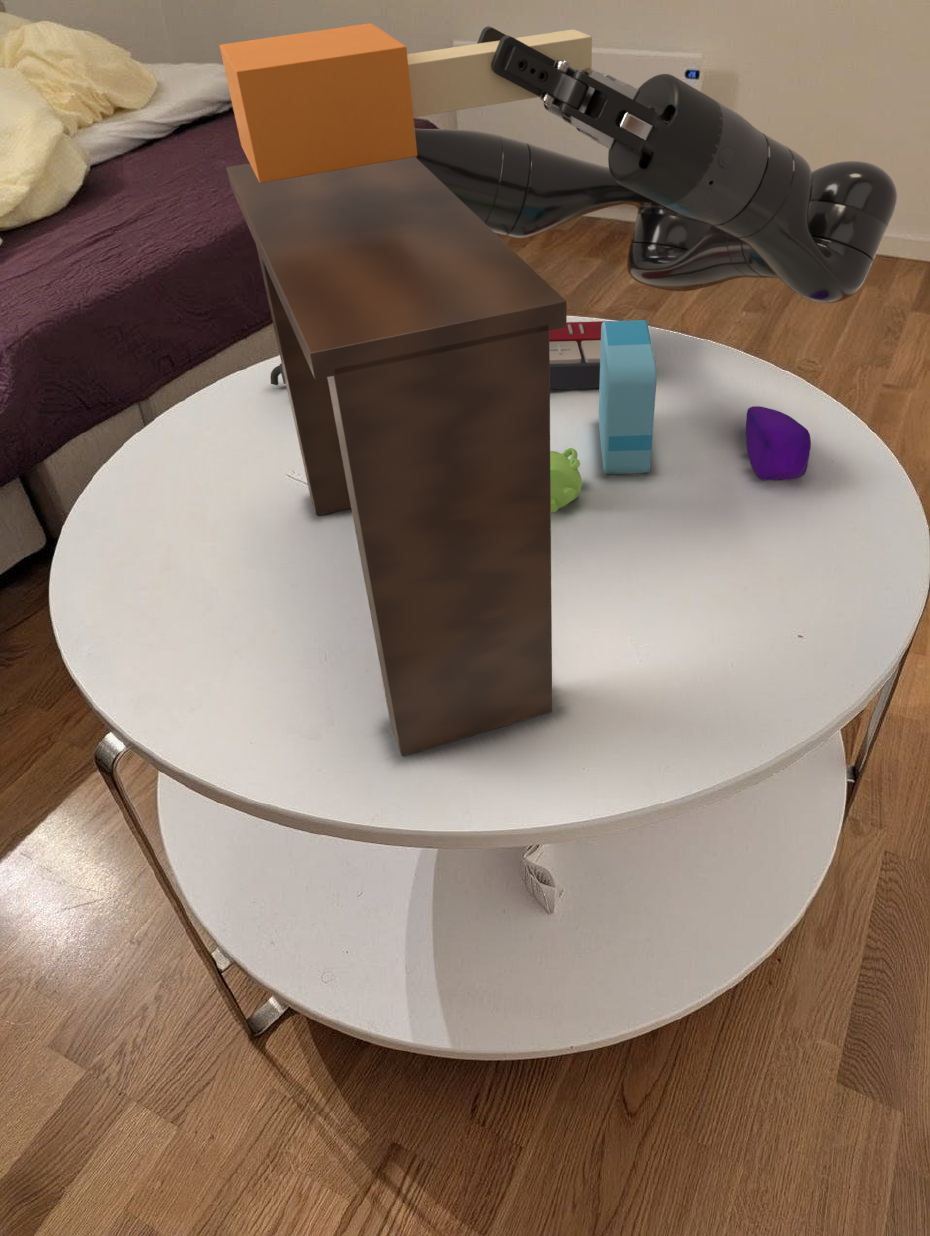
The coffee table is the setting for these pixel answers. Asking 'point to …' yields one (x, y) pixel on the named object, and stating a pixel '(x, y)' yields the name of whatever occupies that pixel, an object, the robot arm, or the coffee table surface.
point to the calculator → (575, 355)
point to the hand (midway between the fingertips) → (489, 47)
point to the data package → (626, 396)
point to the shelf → (422, 428)
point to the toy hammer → (360, 94)
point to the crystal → (776, 444)
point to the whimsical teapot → (564, 478)
